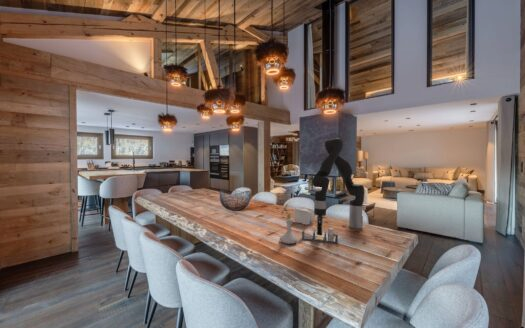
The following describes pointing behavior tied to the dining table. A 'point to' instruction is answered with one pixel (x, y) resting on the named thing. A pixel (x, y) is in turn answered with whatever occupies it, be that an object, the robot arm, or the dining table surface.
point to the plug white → (331, 234)
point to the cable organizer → (304, 215)
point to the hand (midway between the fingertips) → (319, 233)
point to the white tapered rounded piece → (288, 231)
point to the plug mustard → (321, 229)
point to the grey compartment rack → (319, 238)
